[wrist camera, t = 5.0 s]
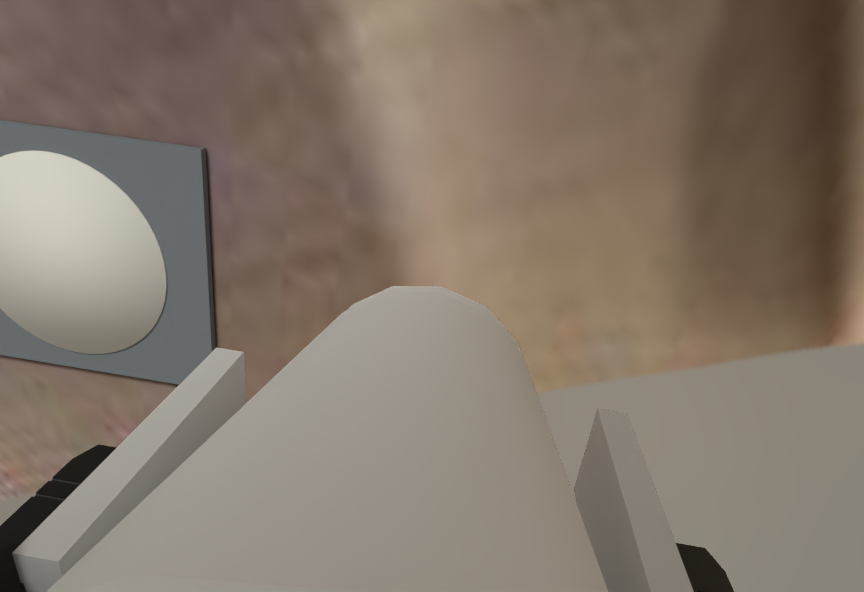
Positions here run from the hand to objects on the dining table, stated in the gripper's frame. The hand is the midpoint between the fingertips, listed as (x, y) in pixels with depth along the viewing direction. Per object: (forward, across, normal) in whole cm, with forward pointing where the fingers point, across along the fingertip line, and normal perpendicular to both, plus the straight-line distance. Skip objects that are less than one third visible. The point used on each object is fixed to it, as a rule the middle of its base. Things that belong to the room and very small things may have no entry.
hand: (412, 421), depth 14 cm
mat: (+10, -18, -2) cm, 21 cm away
